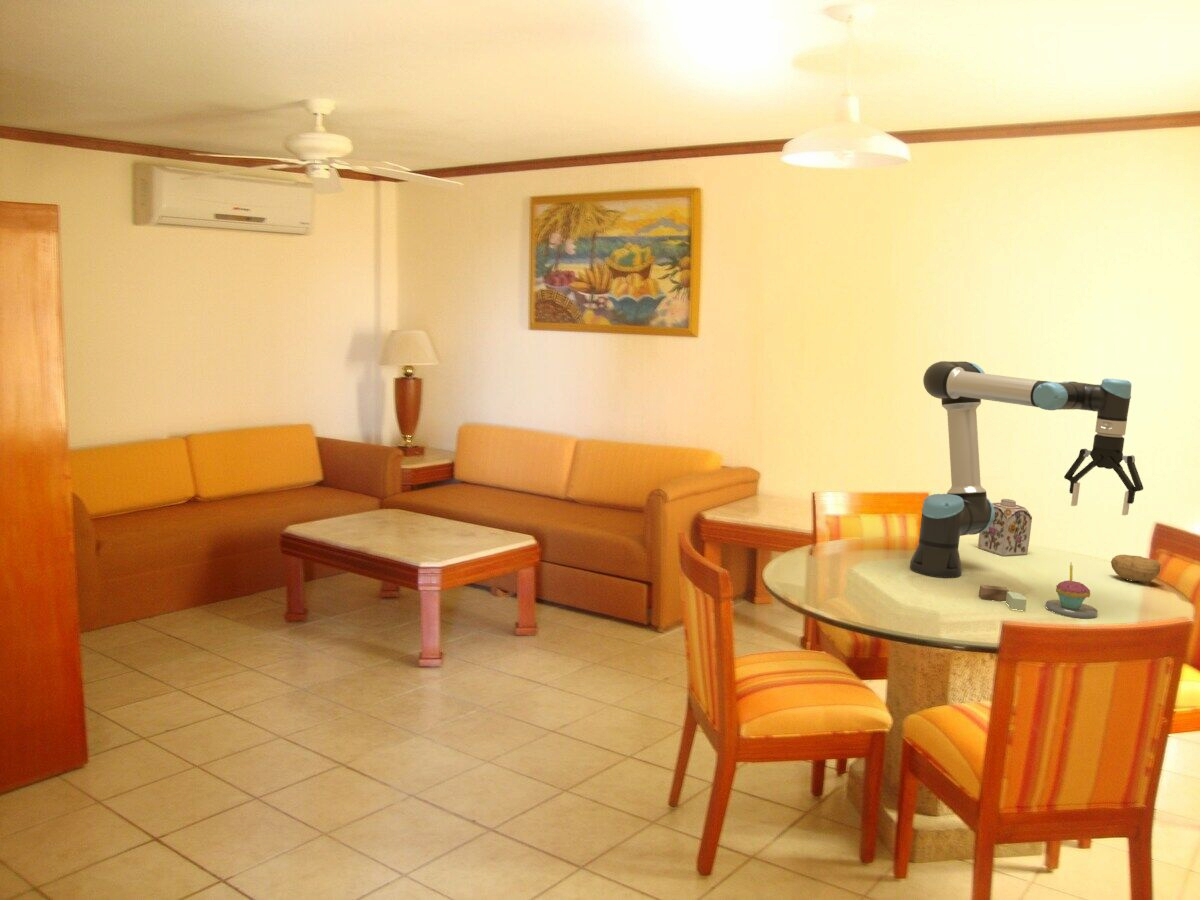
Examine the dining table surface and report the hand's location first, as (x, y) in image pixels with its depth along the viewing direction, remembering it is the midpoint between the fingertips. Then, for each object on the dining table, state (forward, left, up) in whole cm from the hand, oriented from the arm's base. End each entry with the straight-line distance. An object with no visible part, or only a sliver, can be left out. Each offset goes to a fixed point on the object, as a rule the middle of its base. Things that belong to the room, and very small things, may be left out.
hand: (1099, 510), depth 286 cm
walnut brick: (-24, -14, -27) cm, 39 cm away
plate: (-4, -13, -27) cm, 30 cm away
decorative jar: (-25, +53, -27) cm, 65 cm away
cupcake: (-4, -13, -26) cm, 29 cm away
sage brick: (-18, -19, -27) cm, 38 cm away
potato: (+14, +38, -27) cm, 49 cm away
